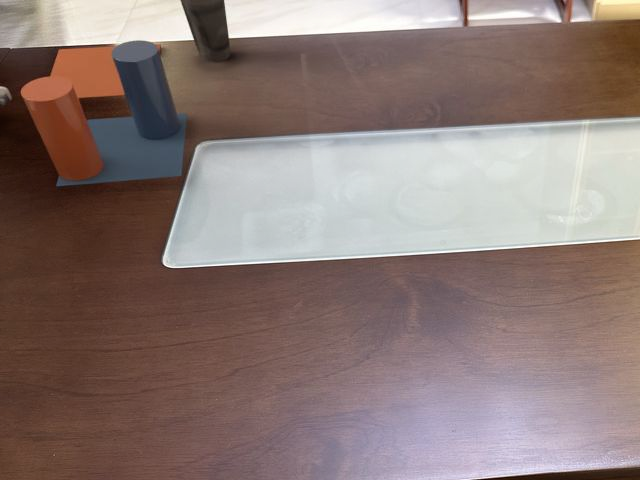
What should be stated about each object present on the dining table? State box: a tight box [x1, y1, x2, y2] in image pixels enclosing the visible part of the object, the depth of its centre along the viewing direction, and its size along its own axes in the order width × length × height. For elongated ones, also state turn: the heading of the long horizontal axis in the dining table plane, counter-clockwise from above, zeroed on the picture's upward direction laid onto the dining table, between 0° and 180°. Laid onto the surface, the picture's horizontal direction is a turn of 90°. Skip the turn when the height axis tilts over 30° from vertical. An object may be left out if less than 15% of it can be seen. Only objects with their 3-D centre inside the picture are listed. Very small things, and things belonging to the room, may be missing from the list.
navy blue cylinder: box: [111, 39, 180, 140], centre depth 95 cm, size 6×6×11 cm
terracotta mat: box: [49, 43, 162, 99], centre depth 108 cm, size 15×15×1 cm
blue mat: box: [55, 112, 188, 187], centre depth 96 cm, size 15×15×1 cm
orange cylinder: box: [20, 76, 104, 181], centre depth 88 cm, size 6×6×11 cm
